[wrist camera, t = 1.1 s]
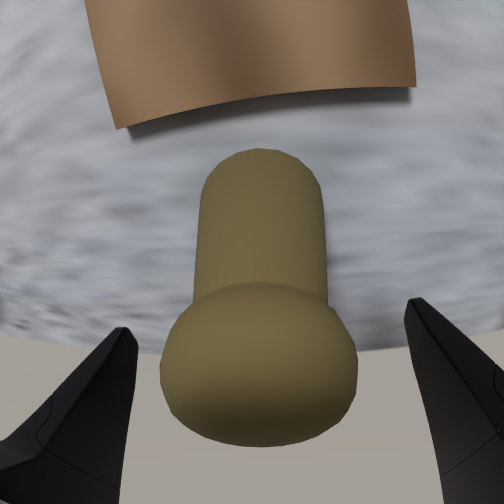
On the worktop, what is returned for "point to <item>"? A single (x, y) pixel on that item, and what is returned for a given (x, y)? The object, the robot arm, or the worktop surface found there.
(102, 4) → the walnut coaster board
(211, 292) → the cork
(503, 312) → the worktop surface
